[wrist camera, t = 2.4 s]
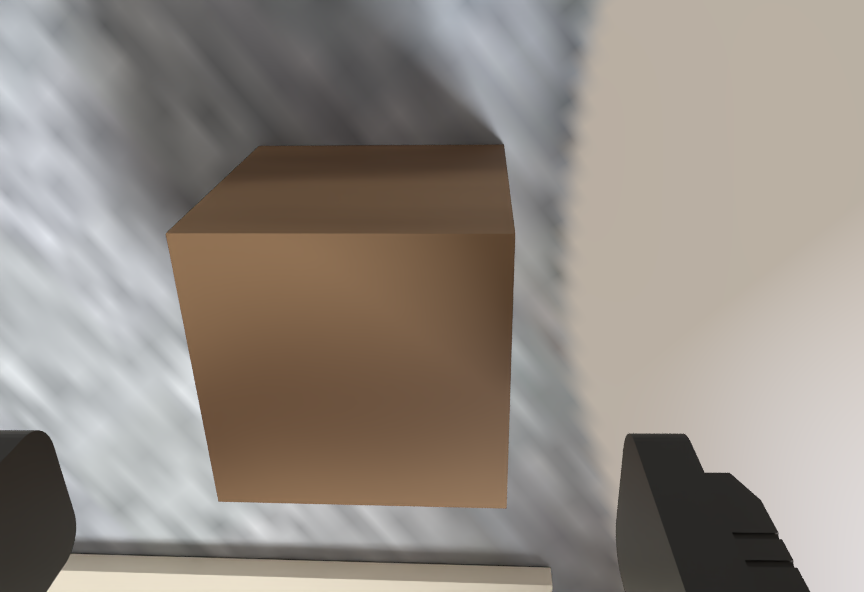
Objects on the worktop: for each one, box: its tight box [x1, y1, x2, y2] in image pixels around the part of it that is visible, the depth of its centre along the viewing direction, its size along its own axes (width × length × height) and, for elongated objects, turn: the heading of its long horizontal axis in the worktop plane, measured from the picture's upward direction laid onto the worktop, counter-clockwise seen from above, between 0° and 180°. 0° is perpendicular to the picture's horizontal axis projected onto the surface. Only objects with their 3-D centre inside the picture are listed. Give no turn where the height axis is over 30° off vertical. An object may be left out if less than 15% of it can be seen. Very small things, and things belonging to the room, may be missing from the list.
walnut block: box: [166, 144, 515, 508], centre depth 14 cm, size 5×5×5 cm
